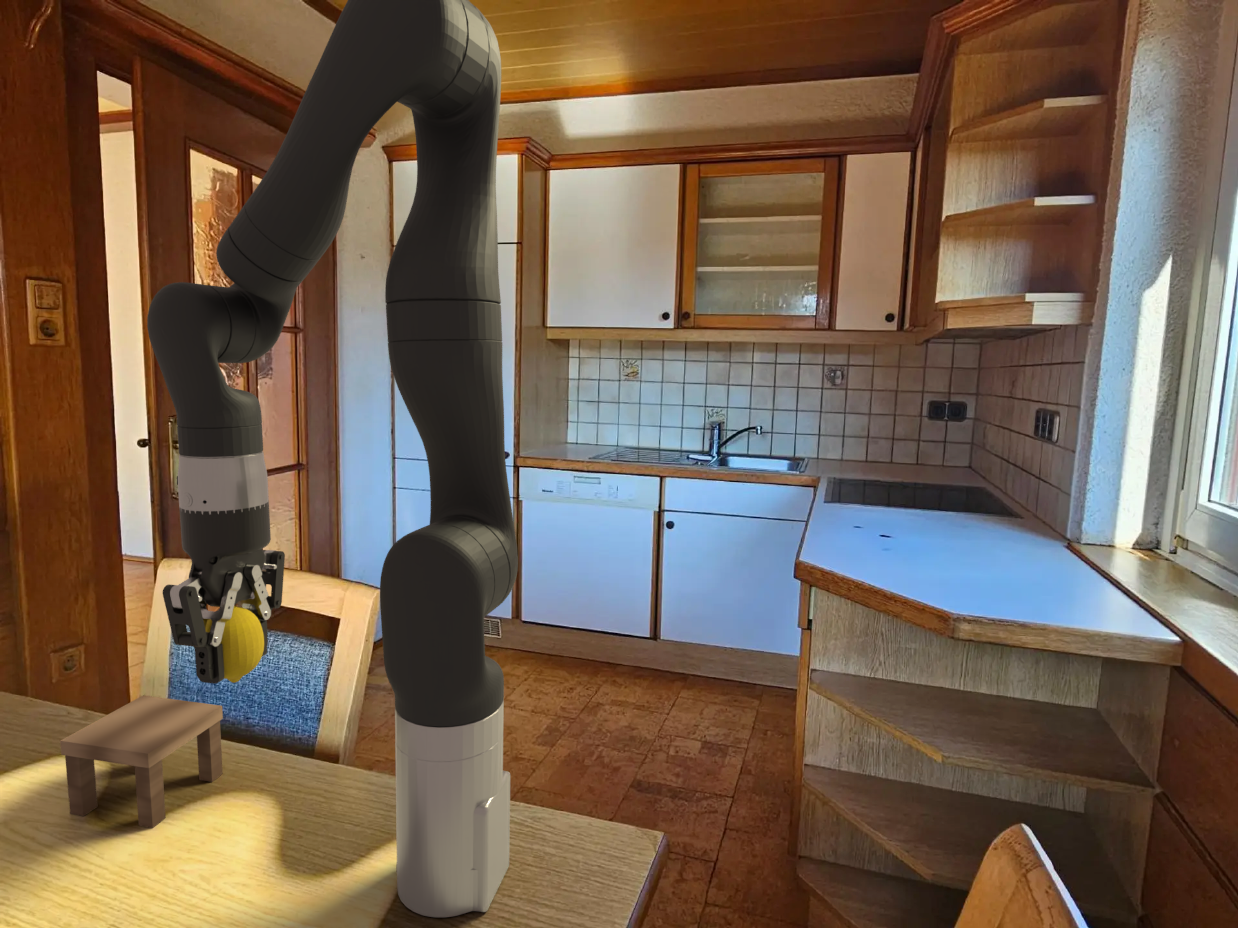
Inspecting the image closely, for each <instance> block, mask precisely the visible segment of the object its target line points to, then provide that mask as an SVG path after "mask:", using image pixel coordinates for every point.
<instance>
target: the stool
mask: <svg viewBox="0 0 1238 928" xmlns="http://www.w3.org/2000/svg"><path fill="white" fill-rule="evenodd" d="M223 715H224V713H223V705H218V704H211V703H205V702H196V701H190V700H189V701H188V700H181V699H176V698H175V699H174V698H168V697H167V698H166V697H160V696H152V695H151V696H150V695H145V694H144V695H141V696H139V697H138V698H135V699H134V700H132V701H130V702H129V703H126V704H125V705H123V706H121V707H119V708H117V709H116V710H114V711H112V712H110V713H108V714H107V715H105V716H103V717H101V718H99V719H97V720H96V721H93V722H92V723H90V724H88V725H86V726H84V727H83V728H81V729H79V730H77V731H75V732H73V733H71V734H70V735H68V736H66V737H64V738H62V739H61V740H59V742H60V743H59V744H60V752H61V753H60V754H61V756H65V757H64V758H65V768H66V772H65V773H66V779H67V780H66V782H67V784H66V785H67V791H68V792H67V793H68V806H69V814H70V815H73V816H74V815H75V816H81V817H84V816H86V815H88V814H89V813H90V812H92V811H93V810H95V809H96V808H98V807H99V806H98V805H99V804H98V794H97V793H98V791H97V781H96V769H95V767H96V766H95V761H101V762H105V763H106V762H107V763H112V764H113V763H114V764H118V765H119V764H120V765H126V766H132V767H134V776H135V789H136V791H135V793H136V803H137V805H136V806H137V819H138V826H139V827H145V828H150V829H153V828H155V827H157V826H158V825H159V824H160V823H161V822H163V821H164V820H165V819H166V802H165V788H164V787H165V785H164V772H163V771H164V770H163V759H165V758H166V757H168V756H170V755H171V754H172V753H174V752H175V751H177V750H178V749H179V748H181V747H183V746H184V745H186V744H187V743H189V742H190V741H192V740H193V739H195V738H196V744H197V746H196V747H197V760H198V761H197V762H198V766H197V767H198V779H199V781H202V782H203V781H204V782H210V783H213V782H214V781H216V780H217V779H218V778H219V777H220V776H222V775H223V774H224V772H223V756H222V735H221V734H222V733H221V721H222V720H223V719H224V718H223V717H224V716H223Z"/></svg>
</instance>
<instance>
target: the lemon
mask: <svg viewBox="0 0 1238 928" xmlns="http://www.w3.org/2000/svg"><path fill="white" fill-rule="evenodd" d="M211 625H212V620H211V619H209V620H208V621H207V624H206V628H205V630H206V632H210V629H211ZM220 644H223V660H224V679H225V680H227V681H229V682H231V683H238V682H239V681H240V680H241V679H242V678H243V677H244V676H246V675H248V674H250V673H251V672H252V671H253V670H254V669H255V668H256V667H257V666H258V664H259V663H260V661H261V659H262V657H263V656H262V655H263V651H264V635H263V630H262V626H261V624H260V621H259V620H258V618H257V617H256V615H255V614H253V613H252V612H251V611H249V610H247V609H245V608H242V607H239V606H238V605H236V604H235V605H234V608H233V612H232V617H231V619H230V620H229V621H227V622H226V623H225V626H224V631H223V635H222V640H221V643H220ZM224 679H223V680H224Z"/></svg>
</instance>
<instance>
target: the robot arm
mask: <svg viewBox="0 0 1238 928" xmlns="http://www.w3.org/2000/svg"><path fill="white" fill-rule="evenodd" d="M499 46H500V45H499V42H498V38H497V36H496V34H495V31H494V29H493V27H492V25H491V23H490V22H489V21H488V19H487V18H486V17H485V15H484V14H483V13H482V12H481V10H480V9H479V8H478V7H477V6H475V4H473V3H472V2H471V1H470V0H347V2H346V3H345V5H344V7H343V9H342V11H341V12H340V14H339V17H338V19H337V21H336V23H335V25H334V28H333V30H332V33H331V34H330V37H329V38H328V42H327V43H326V46H325V48H324V50H323V51H322V55H321V57H320V59H319V61H318V63H317V65H316V67H315V69H314V72H313V74H312V76H311V77H310V78H311V79H310V80H309V83H308V85H307V88H306V89H305V92H304V94H303V96H302V98H301V101H300V104H299V106H298V108H297V110H296V112H295V115H294V117H293V119H292V122H291V124H290V126H289V129H288V131H287V133H286V134H285V137H284V140H283V141H282V144H281V146H280V147H279V149H278V152H277V154H276V156H275V157H274V159H273V161H272V162H271V164H270V166H269V167H268V169H267V171H266V173H265V174H264V175H263V177H262V179H261V180H260V182H259V183H258V185H257V187H255V189H254V191H253V192H252V194H251V195H250V196H249V197H248V199H246V202H245V203H244V205H243V206H242V208H241V209H240V210H239V212H238V214H236V216H235V217H234V219H233V220H232V222H231V223H230V225H229V226H228V227H227V229H226V231H225V232H224V233H223V234H222V236H221V238H220V239H219V242H218V244H217V248H216V252H215V253H216V260H217V264H218V265H219V267H220V269H221V270H222V272H223V274H225V276H226V277H227V278H228V279H229V280H230V281H231V282H232V283H233V284H231V285H230V286H229V287H227V286H219V285H210V284H202V283H195V282H194V283H193V282H185V281H181V282H172V283H169V284H166V285H164V286H163V287H162V288H160V289H159V290H158V291H157V293H156V294H155V295H154V296H153V299H152V300H151V302H150V305H149V308H148V312H147V316H146V317H147V323H146V324H147V325H146V326H147V332H148V333H147V334H148V338H149V341H150V345H151V347H152V350H153V351H152V352H153V353H154V356H155V358H156V361H157V364H158V367H159V369H160V371H161V374H162V377H163V379H164V382H165V385H166V389H167V391H168V394H169V397H170V398H171V399H170V400H171V401H172V404H173V407H174V409H175V413H176V430H177V444H178V445H177V446H178V447H177V449H178V454H179V455H178V467H177V469H178V470H177V491H178V492H177V493H178V494H177V495H178V505H179V509H178V510H179V521H180V535H181V536H180V537H181V547H182V550H183V551H184V553H185V554H187V555H188V556H189V558H190V560H191V564H190V565H191V566H190V570H189V573H188V578H187V579H186V580H183V581H182V582H181V583H179V584H167V585H165V586H164V587H163V590H162V597H163V602H164V606H165V609H166V613H167V619H168V622H169V627H170V631H171V636H172V639H173V643H174V644H175V645H177V646H184V647H193V649H194V657H195V658H194V660H195V673H196V676H197V679H199V681H200V682H201V683H206V684H214V685H215V684H218V683H220V682H222V681H223V680H224V660H223V644H220V643H221V640H222V635H223V631H224V626H225V623H226V622H227V621H229V620H230V619H231V617H232V612H233V608H234V605H235V606H236V605H237V607H242V608H245V609H247V610H249V611H251V612H252V613H253V614H255V615H256V617H257V618H258V620H259V621H260V624H261V626H262V630H263V635H264V651H263V655H262V657H264V656H267V654H268V645H269V638H268V621H267V620H269V619H270V617H271V616H272V610H273V609H280V607H281V605H282V603H283V602H282V601H283V589H284V575H285V574H284V572H285V562H286V561H285V559H286V558H285V557H286V554H285V552H284V550H283V551H282V550H273V549H264V548H266V547H267V546H269V544H270V543H271V539H272V538H271V535H272V534H271V521H270V520H271V517H270V499H269V480H268V479H269V478H268V471H267V466H266V461H265V455H264V442H263V441H264V439H263V418H262V416H263V415H262V407H261V403H260V401H259V399H258V397H257V396H256V395H255V394H253V392H250V391H247V390H243V389H238V388H234V387H231V386H229V384H228V383H227V381H226V379H225V377H224V375H223V371H222V370H221V367H220V364H244V363H251V362H254V361H256V360H258V359H260V358H262V357H263V356H264V355H266V354H267V353H268V352H269V351H270V350H271V349H272V348H273V347H274V346H275V345H276V343H277V341H278V340H279V337H280V336H281V334H282V331H283V329H284V326H285V323H286V320H287V317H288V315H289V312H290V309H291V307H292V303H293V301H294V297H295V295H296V291H297V288H298V287H299V286H300V285H301V284H302V282H303V281H304V280H305V279H306V277H307V276H308V275H309V273H310V272H311V271H312V270H313V269H314V268H315V266H316V265H317V263H318V262H319V261H320V260H321V258H322V257H323V256H324V254H325V253H326V251H327V250H328V249H329V247H331V245H332V243H333V241H334V240H335V238H336V236H337V234H338V232H339V230H340V228H341V226H342V224H343V223H342V222H343V220H344V216H345V213H346V212H345V211H346V209H347V201H348V196H349V188H350V182H351V176H352V172H353V168H354V165H355V161H356V157H357V155H358V153H359V150H360V148H361V146H362V145H363V142H364V141H365V140H366V137H367V136H368V135H369V133H370V132H371V130H372V129H373V128H374V127H375V125H376V124H377V123H378V122H379V121H380V120H381V119H382V118H383V116H384V115H385V114H387V112H388V111H389V110H390V109H391V108H392V107H393V106H394V105H395V104H396V103H399V104H400V105H402V106H405V107H406V108H409V109H410V111H411V114H412V120H413V125H414V132H415V133H414V134H415V135H414V136H415V145H416V146H415V148H416V165H417V166H416V170H417V171H416V186H415V193H414V196H413V197H414V198H413V201H412V205H411V207H410V211H409V213H408V216H407V218H406V220H405V223H404V225H403V227H402V230H401V231H400V234H399V235H398V236H399V237H398V239H397V241H396V244H395V246H394V250H393V251H392V255H391V258H390V261H389V265H388V268H387V272H386V278H385V279H386V280H385V291H384V293H385V295H384V297H385V314H386V331H387V348H388V350H387V351H388V358H389V362H390V363H389V364H390V368H391V372H392V375H393V378H394V380H395V383H396V387H397V388H398V391H399V394H400V395H401V398H402V401H403V403H404V404H405V405H404V406H406V408H407V411H408V413H409V415H410V417H411V419H412V422H413V424H414V426H415V428H416V430H417V432H418V434H419V437H420V439H421V441H422V444H423V448H424V450H425V451H424V452H425V454H426V460H427V466H428V472H429V473H428V474H429V487H430V489H429V490H430V492H429V493H430V494H429V495H430V511H429V512H430V515H429V516H430V517H429V524H427V525H426V526H425V525H424V526H423V527H420V528H418V529H416V530H414V531H411V532H408V533H407V534H405V535H404V536H402V537H401V538H399V539H398V540H397V541H396V542H395V543H393V545H392V546H391V547H390V549H389V550H388V551H387V554H386V555H385V558H384V561H383V565H382V569H381V573H380V580H379V605H380V606H379V607H380V620H381V621H380V623H381V636H382V637H381V639H382V651H383V652H382V653H383V663H384V671H385V675H386V678H387V680H388V682H389V684H390V686H391V688H392V691H393V694H394V729H395V730H394V732H395V733H394V735H395V736H394V740H395V741H394V742H395V743H394V747H395V748H394V749H395V751H394V752H395V758H394V759H395V810H396V811H395V817H396V818H395V819H396V820H395V822H396V823H395V825H396V827H395V828H396V829H395V830H396V831H395V834H396V838H395V839H396V865H395V867H396V868H395V869H396V882H397V883H396V887H397V895H398V898H399V899H400V901H401V903H402V904H404V906H405V907H406V908H407V909H408V910H411V911H412V912H414V913H415V914H418V915H421V916H425V917H431V918H450V917H457V916H460V915H463V914H466V913H470V912H481V913H485V912H488V910H489V908H490V905H491V904H492V901H493V900H494V898H495V896H496V894H497V892H498V890H499V888H500V885H501V883H502V882H503V879H504V877H505V875H506V873H507V871H508V870H509V867H510V841H511V840H510V837H511V836H510V831H511V830H510V827H511V826H510V825H511V773H510V772H509V771H506V770H503V769H504V703H505V701H504V697H505V695H504V694H505V686H504V685H505V680H504V679H505V677H504V672H503V669H502V667H501V665H500V664H499V663H498V662H497V661H495V659H493V658H491V657H489V656H486V647H485V646H486V645H485V642H486V641H485V617H486V616H487V615H490V614H491V613H492V612H493V611H494V610H496V609H497V608H498V607H500V605H502V604H503V603H504V602H505V600H506V599H507V598H508V597H509V595H510V594H511V592H512V590H513V588H514V586H515V583H516V580H517V575H518V569H519V557H518V556H519V555H518V544H517V537H516V530H515V522H514V518H513V509H512V508H513V507H512V502H511V496H510V488H509V481H508V474H507V464H506V463H507V462H506V452H505V449H506V448H505V406H504V402H505V401H504V384H503V383H504V381H503V342H502V341H503V330H502V327H503V326H502V305H501V303H502V299H501V290H500V289H501V288H500V278H499V277H500V276H499V275H500V274H499V252H498V251H499V247H498V244H499V241H498V240H499V239H498V237H499V236H498V210H497V190H496V189H497V187H496V186H497V185H496V184H497V154H498V141H499V126H500V125H499V124H500V111H501V110H500V109H501V98H502V97H501V93H502V90H501V89H502V58H501V52H500V47H499ZM267 585H270V586H271V591H270V595H269V592H268V590H267ZM207 605H208V606H210V607H214V608H215V607H216V608H218V609H217V610H216V611H212V610H208V608H207ZM209 619H211V620H212V625H211V629H210V632H206V630H205V628H206V624H207V621H208V620H209ZM187 627H188V628H189V631H188V629H187Z"/></svg>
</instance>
